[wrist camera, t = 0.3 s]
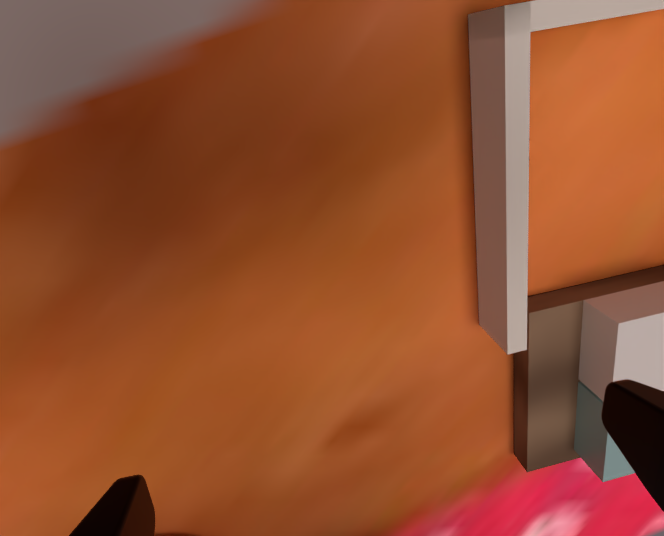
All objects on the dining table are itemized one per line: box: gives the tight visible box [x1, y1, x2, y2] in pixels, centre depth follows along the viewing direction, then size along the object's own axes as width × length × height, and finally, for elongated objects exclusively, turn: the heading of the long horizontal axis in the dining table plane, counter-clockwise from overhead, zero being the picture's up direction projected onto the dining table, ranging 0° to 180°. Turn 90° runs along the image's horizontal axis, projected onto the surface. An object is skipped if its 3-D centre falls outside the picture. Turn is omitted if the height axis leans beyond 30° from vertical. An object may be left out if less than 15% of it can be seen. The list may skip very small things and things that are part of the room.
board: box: [514, 265, 664, 472], centre depth 28 cm, size 11×11×2 cm
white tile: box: [578, 281, 664, 401], centre depth 25 cm, size 5×5×2 cm
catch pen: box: [468, 0, 664, 354], centre depth 22 cm, size 15×15×3 cm
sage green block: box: [574, 381, 635, 482], centre depth 27 cm, size 5×5×2 cm
